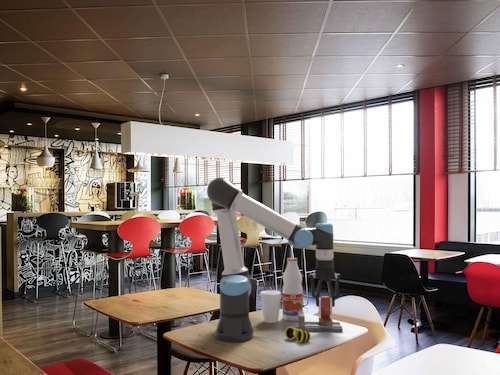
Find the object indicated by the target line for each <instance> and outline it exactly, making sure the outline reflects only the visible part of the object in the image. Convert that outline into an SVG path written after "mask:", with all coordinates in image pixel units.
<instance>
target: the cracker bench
mask: <svg viewBox="0 0 500 375" xmlns="http://www.w3.org/2000/svg"><path fill="white" fill-rule="evenodd" d="M305 317H306V316H305V312H304V311H303V312H298V321H297V327H298V328H297V329H301V330H302V331H306V332H309V333H310V332H311V333H312V332H313V333H343V325H341V323H340V321H333V326H327V325H320V323H319V321H308V320H307V321H306V320H305Z"/></svg>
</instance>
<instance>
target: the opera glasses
mask: <svg viewBox="0 0 500 375" xmlns="http://www.w3.org/2000/svg"><path fill="white" fill-rule="evenodd" d="M284 335H285V338H286V339H288V340H289V341H292V340H294V339H296V341H297V343H299V344H301V343H304V342H310V341H311V340H312V339H311V338H312V336H311V333H310V332H306V331H302V330H301V329H298V328H297V327H296V328H295V327H294V326H287V327H286V328H285V330H284Z"/></svg>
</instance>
